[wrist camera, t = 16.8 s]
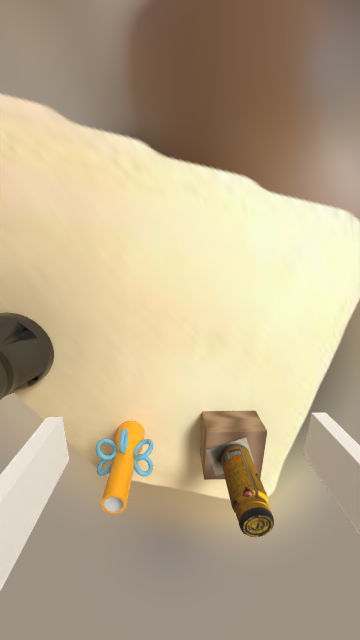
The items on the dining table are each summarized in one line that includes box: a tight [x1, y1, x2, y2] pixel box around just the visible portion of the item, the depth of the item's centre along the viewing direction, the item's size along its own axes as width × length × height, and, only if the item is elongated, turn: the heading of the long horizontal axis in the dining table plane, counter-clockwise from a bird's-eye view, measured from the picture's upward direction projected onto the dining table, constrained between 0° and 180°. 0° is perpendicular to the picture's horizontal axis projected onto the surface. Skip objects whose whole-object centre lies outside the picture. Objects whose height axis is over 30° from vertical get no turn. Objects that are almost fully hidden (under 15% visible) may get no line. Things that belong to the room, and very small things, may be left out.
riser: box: [201, 411, 267, 479], centre depth 46 cm, size 12×12×6 cm
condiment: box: [206, 438, 274, 537], centre depth 37 cm, size 7×8×12 cm
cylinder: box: [96, 421, 153, 514], centre depth 40 cm, size 12×10×15 cm
